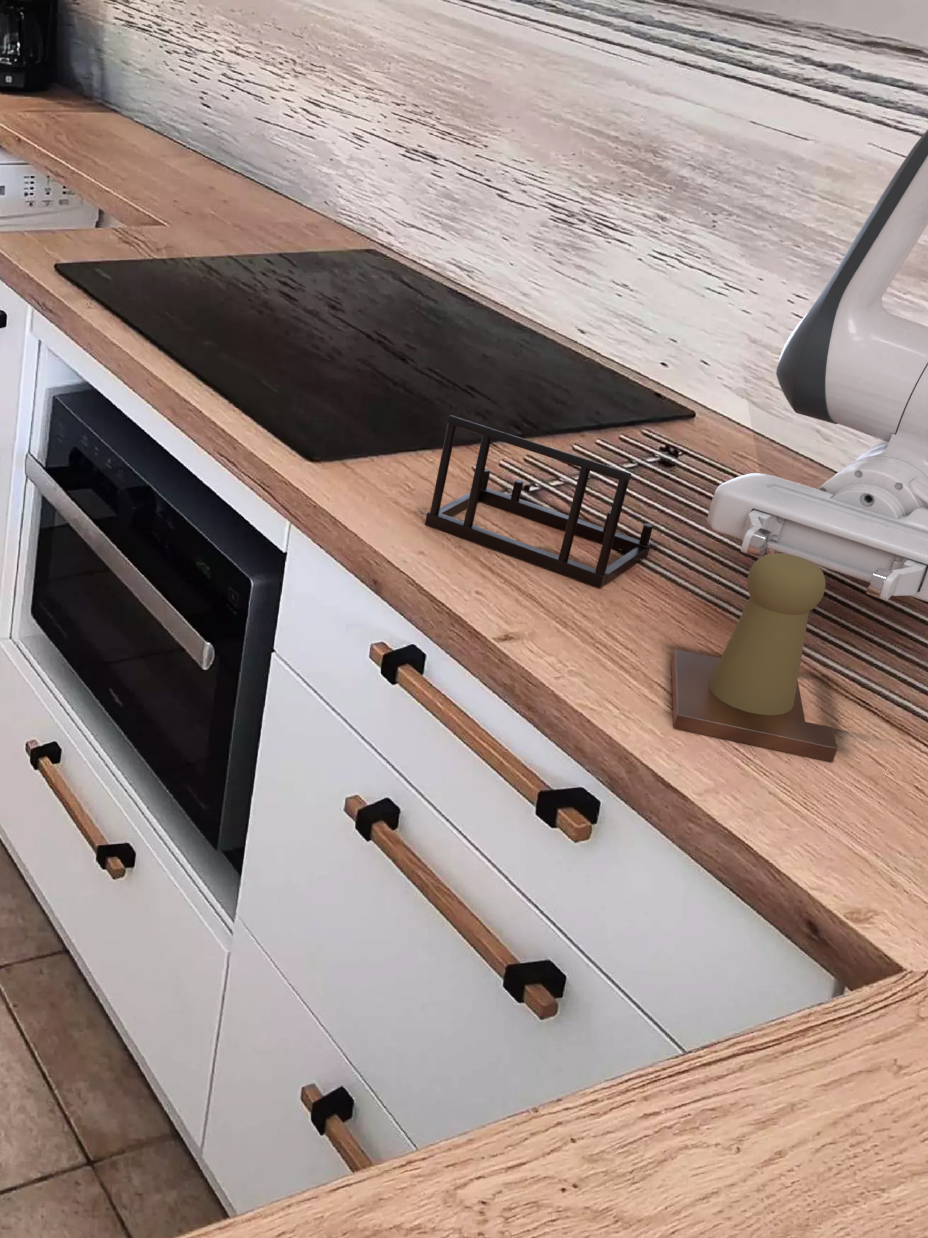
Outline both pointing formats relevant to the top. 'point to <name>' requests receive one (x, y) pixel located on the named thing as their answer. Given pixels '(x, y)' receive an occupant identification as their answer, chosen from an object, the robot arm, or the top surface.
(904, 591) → the robot arm
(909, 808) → the top surface
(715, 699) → the walnut board
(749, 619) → the cork
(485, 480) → the dish rack
